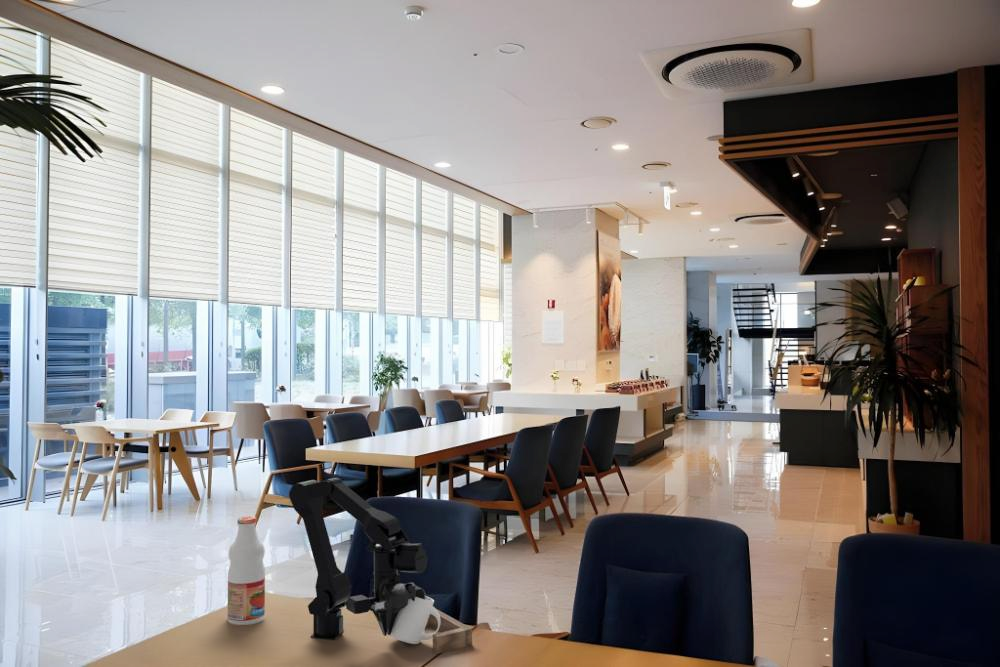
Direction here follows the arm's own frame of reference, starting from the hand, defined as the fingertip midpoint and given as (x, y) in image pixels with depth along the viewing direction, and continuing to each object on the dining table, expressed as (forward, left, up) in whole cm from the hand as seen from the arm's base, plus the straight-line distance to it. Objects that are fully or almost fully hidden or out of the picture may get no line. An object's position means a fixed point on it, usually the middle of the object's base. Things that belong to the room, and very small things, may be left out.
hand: (387, 635), depth 189 cm
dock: (+9, +10, -4) cm, 14 cm away
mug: (+4, +4, -3) cm, 6 cm away
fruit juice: (-42, +10, -4) cm, 44 cm away
